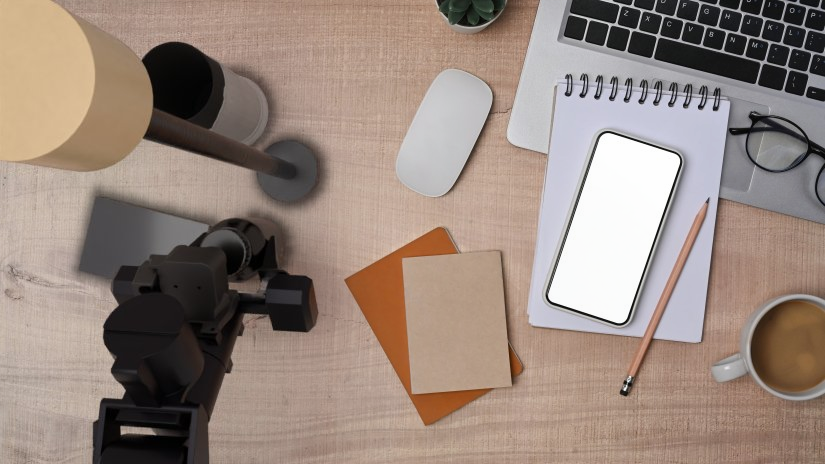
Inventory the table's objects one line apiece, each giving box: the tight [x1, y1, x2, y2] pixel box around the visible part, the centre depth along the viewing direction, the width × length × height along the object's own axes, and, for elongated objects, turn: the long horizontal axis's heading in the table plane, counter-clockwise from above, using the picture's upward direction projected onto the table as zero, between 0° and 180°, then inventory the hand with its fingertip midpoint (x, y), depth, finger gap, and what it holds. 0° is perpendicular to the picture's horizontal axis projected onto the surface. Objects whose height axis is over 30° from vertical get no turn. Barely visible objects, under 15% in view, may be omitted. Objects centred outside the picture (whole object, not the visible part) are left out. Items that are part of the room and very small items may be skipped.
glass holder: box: [140, 41, 270, 146], centre depth 63 cm, size 9×14×15 cm, turn 84°
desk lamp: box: [0, 0, 321, 203], centre depth 48 cm, size 7×7×46 cm
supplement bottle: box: [200, 217, 287, 284], centre depth 65 cm, size 7×7×12 cm
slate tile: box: [77, 195, 212, 280], centre depth 71 cm, size 9×14×1 cm, turn 76°
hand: (240, 236), depth 64 cm, fingers closed on supplement bottle, 7 cm apart
